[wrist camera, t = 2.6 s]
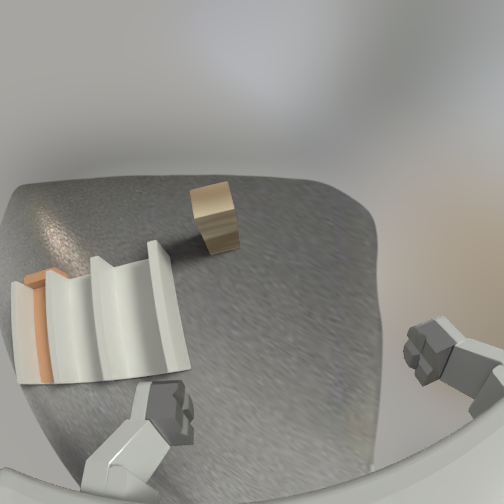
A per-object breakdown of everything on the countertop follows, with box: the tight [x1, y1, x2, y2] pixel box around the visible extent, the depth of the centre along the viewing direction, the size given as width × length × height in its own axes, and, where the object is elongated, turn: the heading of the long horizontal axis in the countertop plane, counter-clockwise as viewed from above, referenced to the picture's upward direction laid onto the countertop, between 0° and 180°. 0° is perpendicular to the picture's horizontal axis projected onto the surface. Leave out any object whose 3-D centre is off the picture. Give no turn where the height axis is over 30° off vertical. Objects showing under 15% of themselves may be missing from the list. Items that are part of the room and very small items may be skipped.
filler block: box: [190, 181, 240, 255], centre depth 29 cm, size 3×4×9 cm
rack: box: [11, 240, 191, 384], centre depth 27 cm, size 14×22×5 cm, turn 104°
